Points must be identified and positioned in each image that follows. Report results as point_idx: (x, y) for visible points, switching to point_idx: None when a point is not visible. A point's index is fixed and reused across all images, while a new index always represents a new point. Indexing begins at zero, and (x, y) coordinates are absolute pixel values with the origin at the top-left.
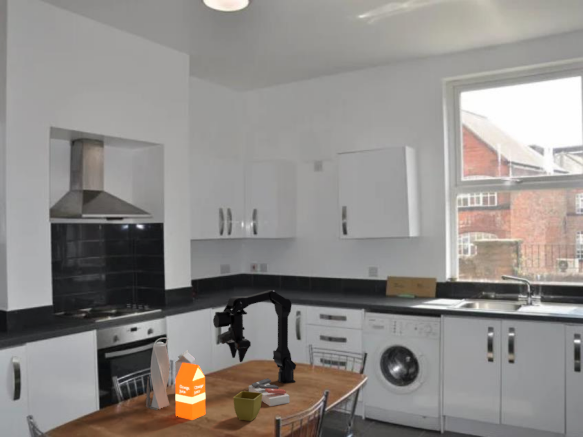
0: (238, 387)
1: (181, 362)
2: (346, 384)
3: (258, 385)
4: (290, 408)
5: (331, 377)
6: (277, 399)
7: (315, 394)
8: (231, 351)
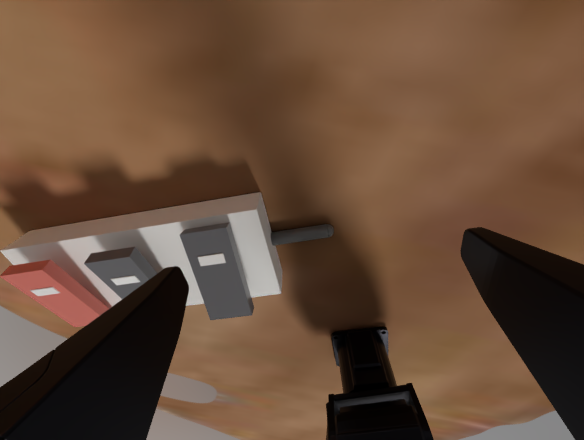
0: (376, 159)
1: None
2: (259, 432)
3: (131, 251)
4: None
5: None
6: None
7: (179, 370)
8: (560, 289)
